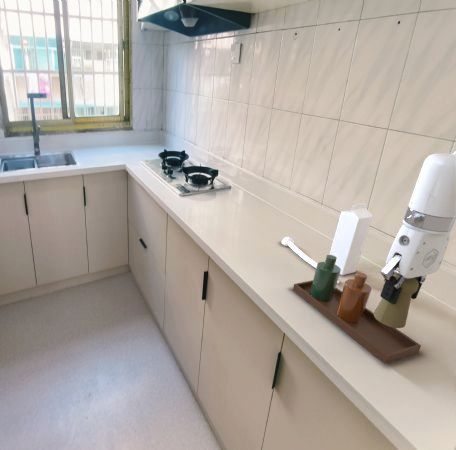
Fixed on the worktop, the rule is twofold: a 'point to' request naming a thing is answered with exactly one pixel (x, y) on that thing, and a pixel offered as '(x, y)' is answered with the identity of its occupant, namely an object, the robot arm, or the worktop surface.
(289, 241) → the spatula
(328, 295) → the green bottle
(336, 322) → the tray
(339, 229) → the milk
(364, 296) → the amber bottle
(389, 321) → the cork
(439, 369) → the worktop surface
